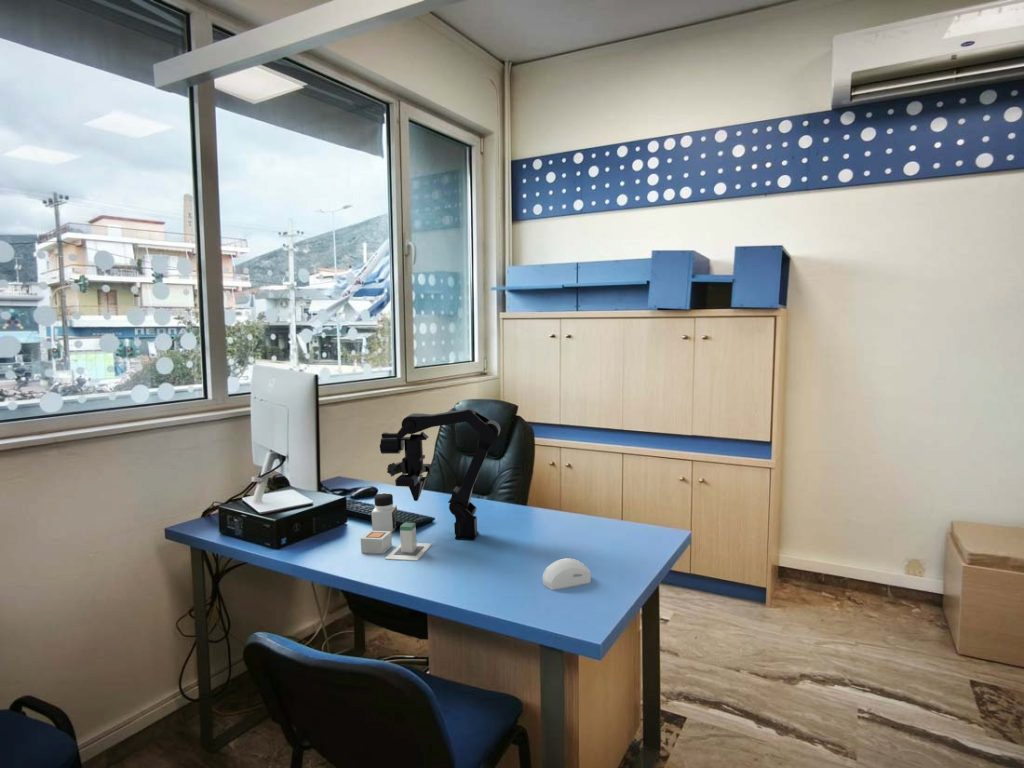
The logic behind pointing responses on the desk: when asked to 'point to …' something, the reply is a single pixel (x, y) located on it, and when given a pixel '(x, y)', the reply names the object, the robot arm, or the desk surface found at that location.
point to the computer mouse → (566, 574)
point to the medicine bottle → (384, 513)
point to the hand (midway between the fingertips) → (416, 500)
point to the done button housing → (376, 542)
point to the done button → (376, 535)
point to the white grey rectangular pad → (414, 556)
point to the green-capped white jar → (408, 537)
